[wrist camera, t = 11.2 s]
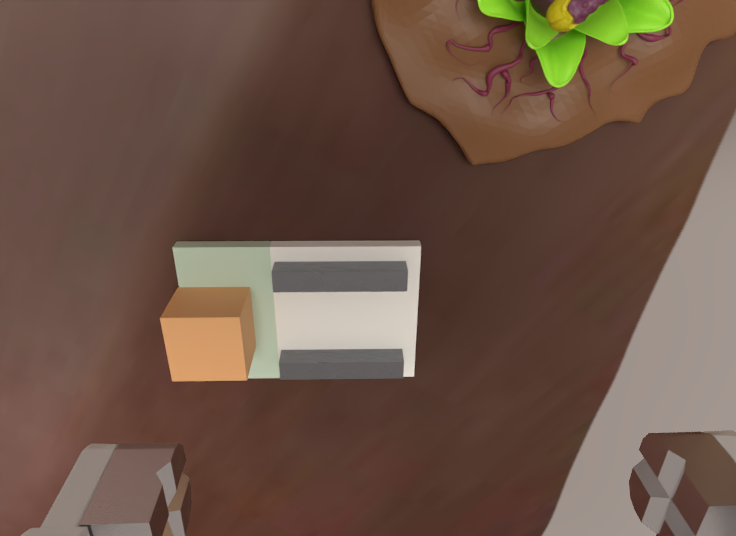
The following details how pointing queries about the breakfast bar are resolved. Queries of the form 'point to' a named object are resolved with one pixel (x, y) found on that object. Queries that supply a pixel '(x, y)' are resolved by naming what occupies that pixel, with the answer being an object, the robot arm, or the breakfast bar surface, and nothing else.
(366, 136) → the breakfast bar surface
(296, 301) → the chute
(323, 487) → the breakfast bar surface
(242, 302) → the orange block
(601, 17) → the plant
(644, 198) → the breakfast bar surface
